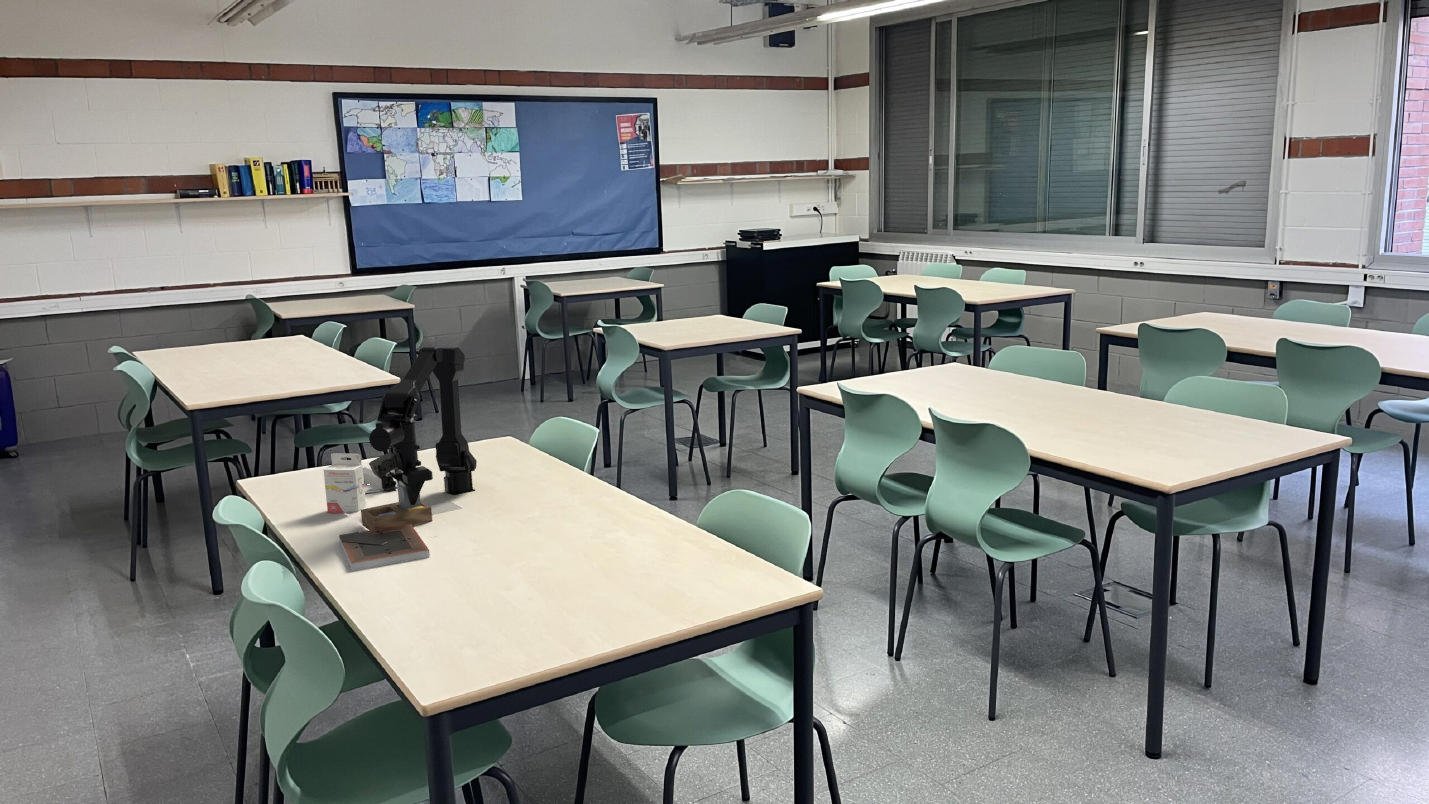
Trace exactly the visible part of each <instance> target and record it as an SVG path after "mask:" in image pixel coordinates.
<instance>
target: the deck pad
mask: <svg viewBox="0 0 1429 804" xmlns="http://www.w3.org/2000/svg"><path fill="white" fill-rule="evenodd" d="M429 506H430V507H431V510H432V516H433V515H439V514H443V513H447V512H451V511H457V510H461V509H463V507H462V506H460V505H458V504H456V503H454V502H452V501H445V502H440V503H436V504H431V505H429Z"/></svg>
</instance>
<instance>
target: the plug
mask: <svg viewBox="0 0 1429 804" xmlns="http://www.w3.org/2000/svg"><path fill="white" fill-rule="evenodd" d="M397 487H398V488H397V495H398V502H399V508H400V509H402V510H407V509H408V508H413V507H417V506H421V502H422V501H421V493H420V494H419V496H418V499H417V501H416V504H415V505H411V504H410V501H409V497H408V493H407V489H406V486H405V485H404V484H403V483H402V482H400V481H399V484H397Z"/></svg>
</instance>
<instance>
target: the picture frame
mask: <svg viewBox="0 0 1429 804" xmlns="http://www.w3.org/2000/svg"><path fill="white" fill-rule="evenodd" d="M413 526H414V525H413ZM413 526H412V525H411V524H407V525H401V526H395V527H388V528H382V529H376V530H370V531H369V530H366V531H355V532H354V531H353V532H350V533H349V532H348V533H343V534H339V535H338V539H339V544H340V546H341V549H342V550H343V553H344V556H345V558H346V559H347V562H348V564H349V567H350V568H351V571H354V572H355V571H359V570H364V569H370V568H375V567H376V568H377V567H380V566H381V567H382V566H387V564H388V565H392V563H393V564H399V563H402V562H401V561H404V562H407V561H406V560H410V561H413V560H412V559H416V560H419V559H418V558H421V559H427V558H430V557H431V554H430V549H429V548H428V546H427V545H426V543H425V542H424V540H423V539H422V538H421V536H420V535H419V534H418V532H417V530H416V529H415V527H413ZM429 556H430V557H429ZM426 557H427V558H426ZM398 562H399V563H398Z"/></svg>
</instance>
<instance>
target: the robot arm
mask: <svg viewBox="0 0 1429 804" xmlns="http://www.w3.org/2000/svg"><path fill="white" fill-rule="evenodd" d="M465 358H466V357H465V354H464V352H463V350H461V348H459V347H456V346H455V347H454V346H453V347H452V346H451V347H449V346H448V347H447V346H446V347H444V346H442V347H441V346H439V347H438V346H423V347H420V349H419V351H418V355H417V356H416V357H415V360H414V361H413V363H412V365H411V366H410V368H409V369H408V371H407V373H405V375H404V377H403V378H402V379H401V381H400V382H398V383H396V384H394V385H392V386H391V387H390V388H389V389H388V390H387V391H386V392H385V393H384V395H383V399H382V401H381V405H380V409H379V413H378V416H377V422H375V428H374V429H373V430H371V432H370V434H369V436H368V439H369V440H368V441H369V444H370V446H371V447H372V448H373V449H374V450H375V451H377V452H381V453H382V452H385V451H388V452H387V453H385V454H383V455H381V456H379V457H376V458H375V459H373V460H371V461H370V462H369V463H368V465H369V468H371V469H372V471H373V473H374V475H376V476H378V477H383V476H385V474H386V473H388V472H390V471H391V473H388V474H389V475H390V476H391V477H393V479H394V481H397V483H398V484H399V481H400V482H402V483H403V484H404V485H405V486H406V489H407V493H408V497H409V501H410V504H411V505H415V504H416V501H417V499H418V496H419V494H420V495H421V491H422V488H423V486H424V484H425V482H428V481H432V480H433V478H434V477H433V471H432V470H431V469H429V468H428V467H425V466H423V465H422V461H421V460H419V455H418V450H420V449H421V447H420V445H419V444H418V443H417V435H416V434H417V433H416V425H415V423H416V422H415V421H417V420H419V416H418V415H417V414H415V413H416V411H417V409H418V407H419V404H420V402H421V397H420V393H421V390H422V389H423V387H424V385H425V384H426V382H427V381H428V379H429V378H430V376H431V374H432V373H433V375H434V376H435V378H436V380H437V381H438V383H439V384H438V385H439V400H440V416H441V420H440V421H441V433H442V435H441V437H440V439H439V441H437V442H436V443H435V459H436V462H437V466H438V469H439V472H444V473H445V474H444V475H445V476H444V477H443V483H444V484H443V485H444V492H445V493H448V494H450V495H452V496H458V495H462V494H467V493H472V492H476V489H475V488H474V487H473V475H472V472H475V471H476V469H477V462H478V461H477V459H476V458H475V457H474V455H473V454H472V453H471V451H470V447H469V442H468V441H467V439H466V437H465V436H464V435H463V434H462V425H461V424H462V423H461V406H460V389H459V379H460V377H461V375H462V374H463V372H464V371H465V370H464V368H465V367H464V365H465V364H464V363H465V361H466V359H465Z"/></svg>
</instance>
